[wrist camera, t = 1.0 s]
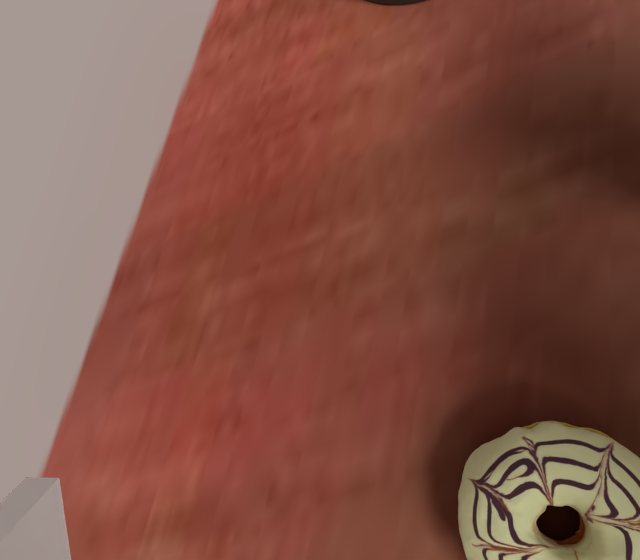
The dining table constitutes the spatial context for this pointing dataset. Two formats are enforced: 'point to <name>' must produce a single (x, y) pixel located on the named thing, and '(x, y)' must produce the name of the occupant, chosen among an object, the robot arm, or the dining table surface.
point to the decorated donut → (550, 495)
